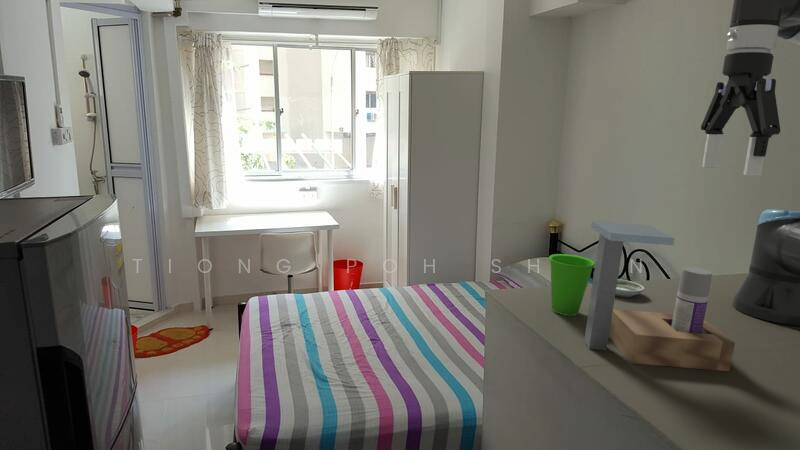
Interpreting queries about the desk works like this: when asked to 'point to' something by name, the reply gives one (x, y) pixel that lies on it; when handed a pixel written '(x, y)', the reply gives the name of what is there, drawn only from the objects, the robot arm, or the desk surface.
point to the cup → (569, 281)
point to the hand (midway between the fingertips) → (729, 171)
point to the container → (691, 300)
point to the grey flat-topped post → (612, 274)
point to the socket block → (668, 342)
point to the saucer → (628, 288)
